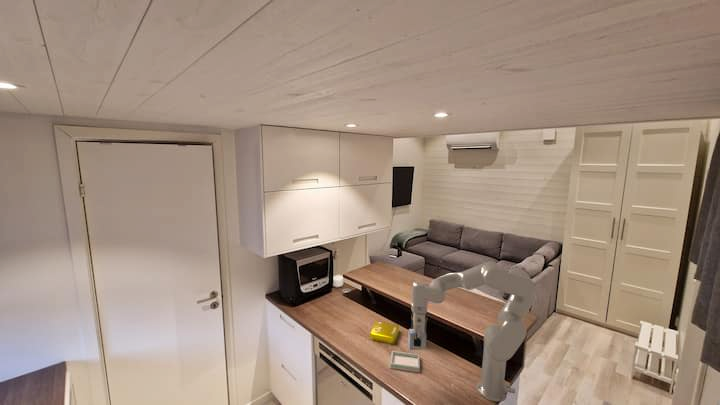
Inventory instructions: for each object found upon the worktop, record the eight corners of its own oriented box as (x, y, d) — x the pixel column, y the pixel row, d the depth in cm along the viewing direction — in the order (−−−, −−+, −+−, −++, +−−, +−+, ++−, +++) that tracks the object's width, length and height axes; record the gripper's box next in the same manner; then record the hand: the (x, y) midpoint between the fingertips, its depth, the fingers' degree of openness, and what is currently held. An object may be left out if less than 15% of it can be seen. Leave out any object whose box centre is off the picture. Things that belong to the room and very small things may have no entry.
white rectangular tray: (419, 357, 157) (419, 354, 156) (419, 372, 146) (419, 368, 146) (391, 354, 159) (391, 350, 159) (389, 367, 149) (389, 363, 148)
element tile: (394, 345, 168) (394, 337, 167) (369, 339, 172) (369, 332, 172) (399, 331, 182) (399, 324, 181) (376, 326, 187) (376, 319, 186)
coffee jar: (418, 347, 166) (419, 316, 163) (407, 340, 172) (408, 311, 169) (428, 340, 172) (430, 311, 169) (417, 334, 178) (419, 306, 175)
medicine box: (423, 344, 144) (424, 328, 143) (425, 350, 140) (426, 333, 139) (407, 344, 144) (408, 328, 143) (409, 350, 140) (410, 333, 138)
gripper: (428, 317, 130) (426, 354, 133) (426, 299, 147) (423, 333, 150) (411, 315, 131) (409, 352, 134) (411, 298, 148) (409, 331, 151)
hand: (417, 341), depth 142 cm, fingers closed on medicine box, 5 cm apart
